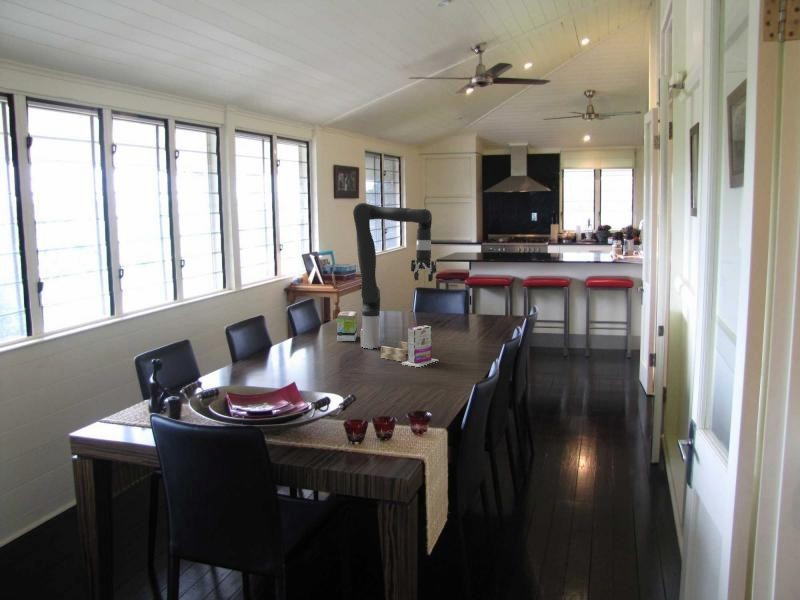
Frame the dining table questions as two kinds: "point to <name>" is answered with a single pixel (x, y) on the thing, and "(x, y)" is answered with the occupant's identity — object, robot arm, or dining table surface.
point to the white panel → (418, 363)
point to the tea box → (346, 326)
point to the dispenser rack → (395, 352)
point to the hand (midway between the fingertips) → (423, 280)
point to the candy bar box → (419, 344)
